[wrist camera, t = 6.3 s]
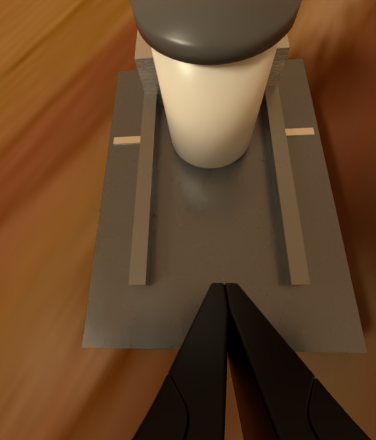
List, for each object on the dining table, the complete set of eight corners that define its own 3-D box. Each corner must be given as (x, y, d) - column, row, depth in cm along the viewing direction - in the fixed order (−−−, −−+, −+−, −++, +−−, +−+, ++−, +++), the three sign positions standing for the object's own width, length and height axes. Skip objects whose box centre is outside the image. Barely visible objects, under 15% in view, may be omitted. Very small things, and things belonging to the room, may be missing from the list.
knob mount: (350, 346, 14) (438, 377, 9) (93, 342, 15) (33, 367, 10) (296, 74, 21) (326, 0, 16) (124, 86, 22) (98, 20, 17)
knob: (261, 171, 16) (321, 34, 8) (164, 175, 16) (121, 49, 8) (252, 95, 18) (292, -76, 10) (167, 101, 19) (136, -58, 10)
